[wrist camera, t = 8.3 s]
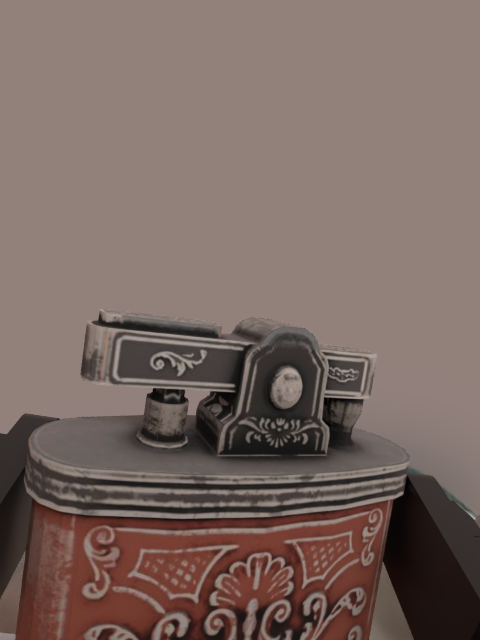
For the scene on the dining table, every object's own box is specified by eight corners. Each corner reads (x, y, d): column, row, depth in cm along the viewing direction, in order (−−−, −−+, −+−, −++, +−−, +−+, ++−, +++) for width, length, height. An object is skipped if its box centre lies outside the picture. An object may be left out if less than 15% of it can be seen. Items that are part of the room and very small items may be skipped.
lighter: (309, 672, 13) (366, 329, 12) (388, 801, 10) (471, 351, 9) (-7, 742, 10) (47, 289, 9) (-37, 963, 7) (43, 301, 6)
